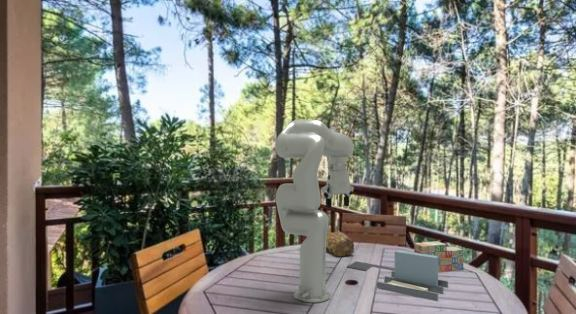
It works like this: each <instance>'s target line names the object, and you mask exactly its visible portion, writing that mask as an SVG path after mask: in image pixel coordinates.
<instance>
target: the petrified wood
mask: <svg viewBox="0 0 576 314" xmlns="http://www.w3.org/2000/svg"><path fill="white" fill-rule="evenodd" d="M326 250H327V251H329V253H331V254H333V255H334V256H336V257H341V258H342V257H345V256H348V255H352V254H354V253H355V251H354V250H355V244H354V241H353V240H352V239H351V238H350V237H349V236H348V235H347V234H345V233H344V232H342V231H334V232H327V238H326Z"/></svg>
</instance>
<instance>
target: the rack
mask: <svg viewBox="0 0 576 314" xmlns="http://www.w3.org/2000/svg"><path fill="white" fill-rule="evenodd" d="M390 276H391V277H390ZM390 276H384V282H381V281H377V282H376V288H377V289H379V290H385V291H390V292H394V293H398V294H402V295H407V296H413V297H416V298H421V299H426V300H431V301H435V302H438V301H439V294H440V295H443V294H444V288H447V289H448V288H449V281H448V280H442V279H438V286H434V285H428V284H423V283H418V282H413V281H408V280H403V279H398V278H394V277H395V271H392V270H391V275H390ZM392 280H393V281H397V282H402V283H406V284H410V285H414V286H419V287H423V288H427V289H428V292H426V291H421V290H416V289H411V288H406V287H402V286H397V285H392V284H387V283H388V282H390V281H392Z"/></svg>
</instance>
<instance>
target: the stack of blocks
mask: <svg viewBox="0 0 576 314" xmlns="http://www.w3.org/2000/svg"><path fill="white" fill-rule="evenodd" d="M413 253H420V254H427V255H433V256H438V273H443V272H444V273H445V272H454V271H463V270H464V249H463V248H459V247H457V246H447V244H446V243H444V242H440V241H437V240H436V241H426V242H425V241H424V242H414V250H413Z"/></svg>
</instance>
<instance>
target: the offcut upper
mask: <svg viewBox="0 0 576 314" xmlns="http://www.w3.org/2000/svg"><path fill="white" fill-rule="evenodd" d="M387 284H392V285H397V286H402V287H406V288H411V289H416V290H421V291H426V292H429V291H428V289H427V288H423V287H419V286H414V285H410V284H406V283H402V282H397V281H393V280H392V281H390V282H388V283H387Z"/></svg>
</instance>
